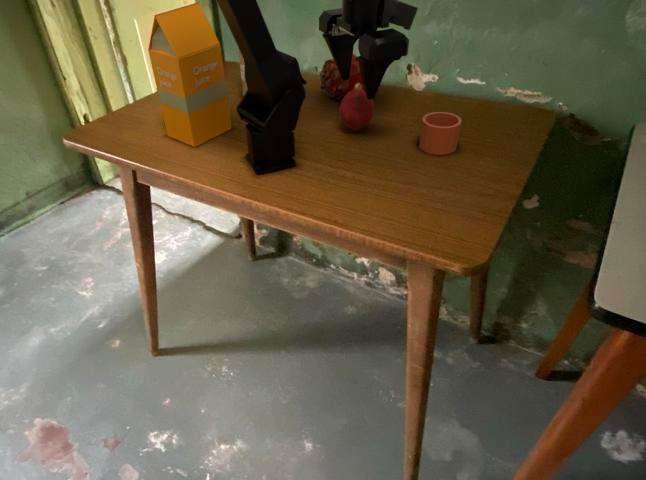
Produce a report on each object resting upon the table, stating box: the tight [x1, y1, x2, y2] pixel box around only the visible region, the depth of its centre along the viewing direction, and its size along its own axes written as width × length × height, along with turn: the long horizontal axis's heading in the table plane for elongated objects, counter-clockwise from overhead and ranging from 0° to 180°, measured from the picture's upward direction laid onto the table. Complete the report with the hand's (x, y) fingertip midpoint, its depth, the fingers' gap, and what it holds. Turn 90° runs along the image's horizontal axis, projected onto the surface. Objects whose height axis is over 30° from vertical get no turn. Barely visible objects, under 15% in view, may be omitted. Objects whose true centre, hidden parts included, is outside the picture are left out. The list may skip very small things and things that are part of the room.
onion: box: [339, 83, 375, 132], centre depth 82 cm, size 6×6×8 cm
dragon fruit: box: [319, 53, 364, 101], centre depth 94 cm, size 8×8×12 cm
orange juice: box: [147, 1, 232, 148], centre depth 81 cm, size 8×9×20 cm
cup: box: [418, 111, 463, 156], centre depth 77 cm, size 6×6×4 cm
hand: (357, 89), depth 80 cm, fingers open, 9 cm apart
